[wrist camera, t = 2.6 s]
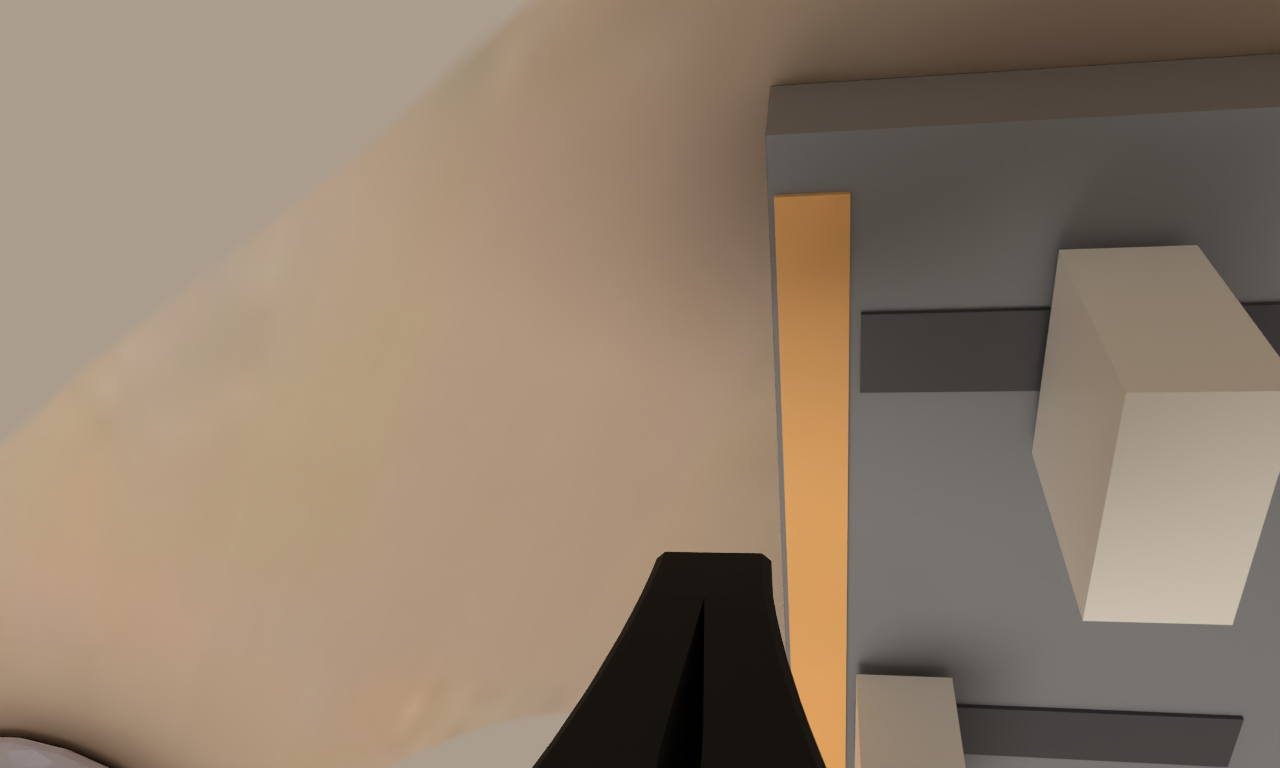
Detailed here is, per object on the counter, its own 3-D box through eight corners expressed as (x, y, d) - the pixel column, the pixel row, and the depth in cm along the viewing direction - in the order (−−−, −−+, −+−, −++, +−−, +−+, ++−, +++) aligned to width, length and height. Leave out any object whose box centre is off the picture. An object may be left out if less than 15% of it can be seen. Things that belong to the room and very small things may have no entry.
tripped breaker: (1197, 245, 15) (1304, 390, 12) (1152, 453, 17) (1232, 625, 14) (1059, 249, 16) (1126, 392, 12) (1031, 453, 18) (1082, 621, 14)
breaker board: (1474, 41, 16) (1580, 92, 14) (1160, 963, 31) (1186, 1056, 29) (770, 86, 18) (765, 137, 15) (800, 934, 33) (800, 1018, 31)
